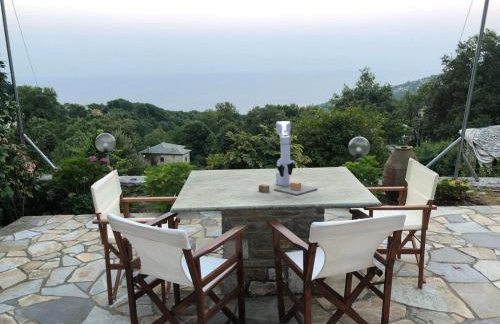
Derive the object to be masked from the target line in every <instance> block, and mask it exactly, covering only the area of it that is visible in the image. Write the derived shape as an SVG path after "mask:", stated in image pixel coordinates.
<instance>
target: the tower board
mask: <svg viewBox="0 0 500 324" xmlns="http://www.w3.org/2000/svg"><path fill="white" fill-rule="evenodd" d="M273 190H274V191H275V192H276V191H277V192H280V193H284V194H288V195H292V196H300V195H304V194H308V193H310V192H314V191H315V192H316V191H317V190H318V187H312V186H307V185H303V184H301V189H298V190H296V189H291V188H290V185H287V186H279V187H275V188H273Z"/></svg>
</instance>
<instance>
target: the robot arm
mask: <svg viewBox="0 0 500 324" xmlns="http://www.w3.org/2000/svg"><path fill="white" fill-rule="evenodd" d="M291 126H292V125H291V121H290V120H288V121H287V120H286V121H279V120H278V121H276V123H275V127H276V128H275V129H276V130H275V131H276V134H277V135H279V137H280V138H279V139H280V140H279V141H280V158H278V159H277V161H276V170H277V172H276V174H275V183H274V184H275V185H278V186H281V187H283V186H287V185H290V182H291V178H290V177H291V175H293V170H294V168H295V166H296V164H295V160H294V159H291V143H292V137H291V135H290V133H291Z"/></svg>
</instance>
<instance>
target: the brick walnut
mask: <svg viewBox="0 0 500 324" xmlns="http://www.w3.org/2000/svg"><path fill="white" fill-rule="evenodd" d="M258 192H262V193H267V192H270V185H268V184H266V183H265V184H264V183H262V184H258Z"/></svg>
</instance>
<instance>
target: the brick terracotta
mask: <svg viewBox="0 0 500 324" xmlns="http://www.w3.org/2000/svg"><path fill="white" fill-rule="evenodd" d="M301 185H302V182H299V181H295V180H294V181H290V188H291V189H296V190H298V189H301Z"/></svg>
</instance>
